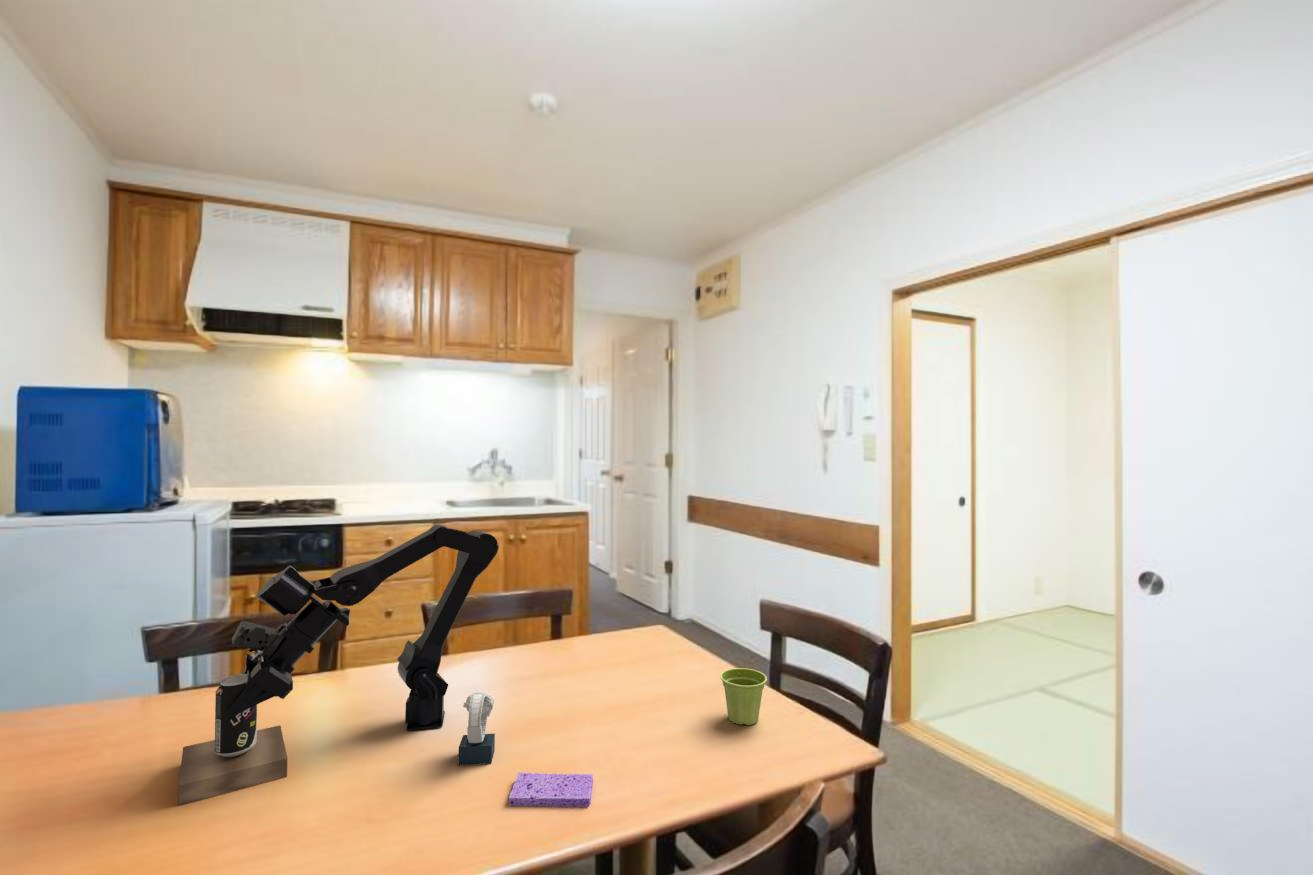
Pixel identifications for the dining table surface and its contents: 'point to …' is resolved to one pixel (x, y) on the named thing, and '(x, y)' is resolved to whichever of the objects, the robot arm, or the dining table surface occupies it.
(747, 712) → the plant pot
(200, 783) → the walnut block
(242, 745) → the beverage can
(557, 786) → the sponges
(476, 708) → the watch
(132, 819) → the dining table surface
